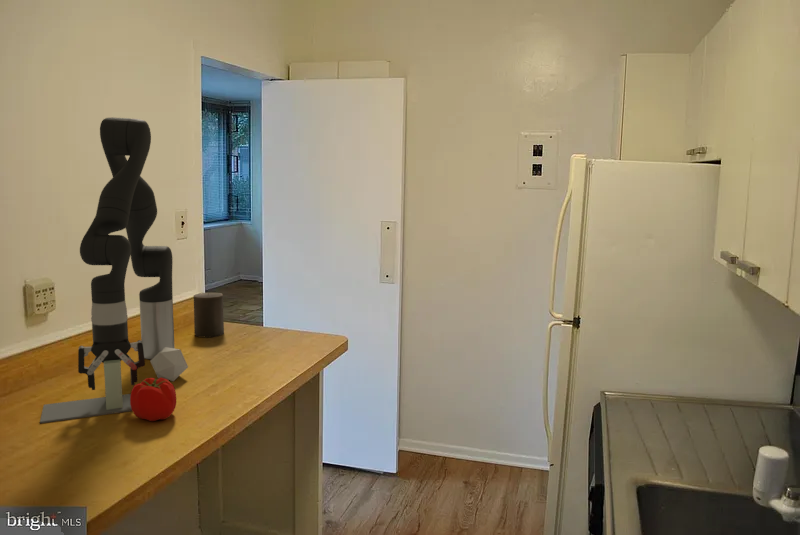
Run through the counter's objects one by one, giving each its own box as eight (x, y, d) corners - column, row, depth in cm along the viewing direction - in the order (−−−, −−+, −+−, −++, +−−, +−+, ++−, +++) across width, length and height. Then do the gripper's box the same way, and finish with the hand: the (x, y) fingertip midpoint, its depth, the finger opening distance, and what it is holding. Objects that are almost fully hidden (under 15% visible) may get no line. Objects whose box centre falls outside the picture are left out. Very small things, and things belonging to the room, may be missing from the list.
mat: (43, 406, 147) (43, 404, 147) (135, 394, 156) (135, 393, 155) (40, 423, 137) (39, 421, 137) (138, 410, 146) (138, 408, 146)
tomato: (150, 430, 135) (148, 392, 133) (119, 419, 140) (117, 382, 139) (190, 415, 143) (189, 378, 142) (159, 405, 149) (158, 370, 148)
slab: (105, 399, 151) (103, 355, 149) (122, 397, 152) (119, 354, 151) (106, 409, 144) (103, 364, 143) (123, 407, 146) (120, 362, 144)
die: (195, 378, 170) (186, 345, 174) (181, 372, 162) (173, 337, 166) (165, 389, 170) (157, 356, 173) (150, 384, 161) (142, 348, 165)
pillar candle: (208, 339, 207) (207, 295, 205) (188, 334, 212) (186, 291, 210) (230, 333, 216) (229, 290, 213) (210, 329, 220) (209, 287, 218)
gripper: (141, 314, 152) (144, 378, 154) (75, 319, 146) (80, 385, 148) (143, 320, 145) (146, 387, 147) (74, 326, 139) (79, 396, 141)
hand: (113, 386), depth 148 cm, fingers open, 8 cm apart
